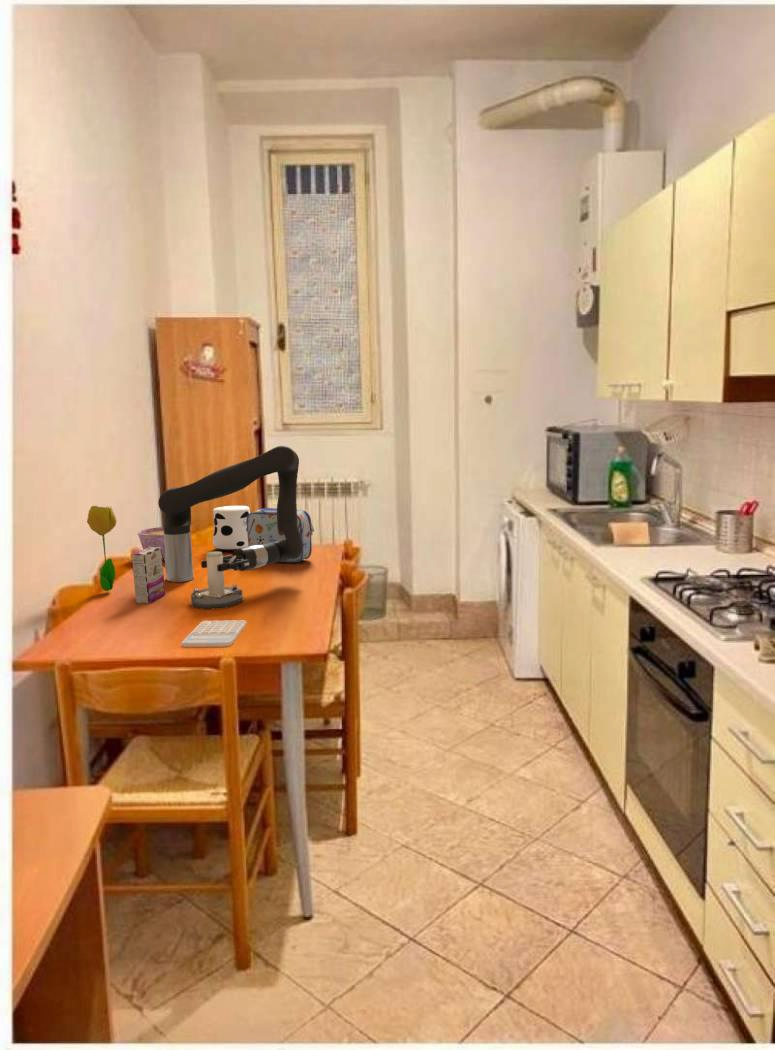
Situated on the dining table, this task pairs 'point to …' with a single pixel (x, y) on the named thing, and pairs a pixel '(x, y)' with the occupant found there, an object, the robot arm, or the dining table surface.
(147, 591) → the candy bar box
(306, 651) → the dining table surface
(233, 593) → the base plate
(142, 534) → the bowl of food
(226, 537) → the milk container
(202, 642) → the calculator
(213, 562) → the column
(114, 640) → the dining table surface
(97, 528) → the flower
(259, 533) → the lunch box
